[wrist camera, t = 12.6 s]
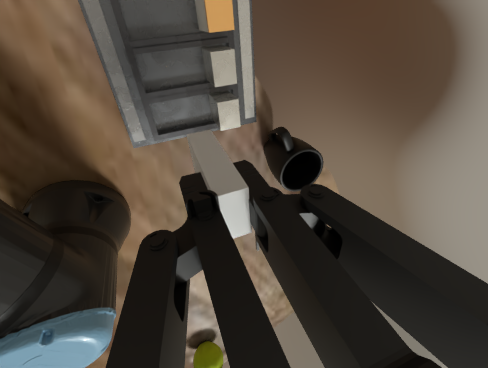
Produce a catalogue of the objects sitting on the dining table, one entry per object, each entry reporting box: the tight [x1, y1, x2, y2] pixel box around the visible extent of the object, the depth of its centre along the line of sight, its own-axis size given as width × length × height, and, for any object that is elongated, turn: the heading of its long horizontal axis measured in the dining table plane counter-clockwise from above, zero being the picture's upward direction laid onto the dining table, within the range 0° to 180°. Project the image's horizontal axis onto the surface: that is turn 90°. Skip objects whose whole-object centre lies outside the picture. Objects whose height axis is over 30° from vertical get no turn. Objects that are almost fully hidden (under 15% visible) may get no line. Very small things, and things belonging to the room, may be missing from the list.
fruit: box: [193, 341, 223, 368], centre depth 78 cm, size 9×9×10 cm
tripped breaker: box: [195, 0, 234, 33], centre depth 29 cm, size 3×4×5 cm
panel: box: [78, 0, 256, 148], centre depth 32 cm, size 20×20×6 cm
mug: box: [264, 127, 323, 191], centre depth 43 cm, size 8×12×10 cm
